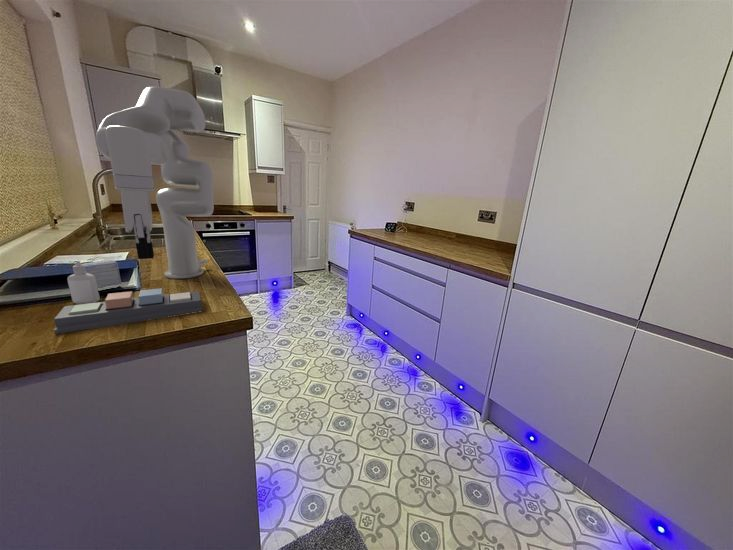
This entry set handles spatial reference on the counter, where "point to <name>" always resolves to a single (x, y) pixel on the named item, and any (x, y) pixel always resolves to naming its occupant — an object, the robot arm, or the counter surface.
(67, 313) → the keypad housing
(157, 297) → the key
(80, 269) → the eye dropper bottle
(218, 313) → the counter surface
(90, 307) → the key
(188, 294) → the key
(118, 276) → the medicine box
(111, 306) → the key
